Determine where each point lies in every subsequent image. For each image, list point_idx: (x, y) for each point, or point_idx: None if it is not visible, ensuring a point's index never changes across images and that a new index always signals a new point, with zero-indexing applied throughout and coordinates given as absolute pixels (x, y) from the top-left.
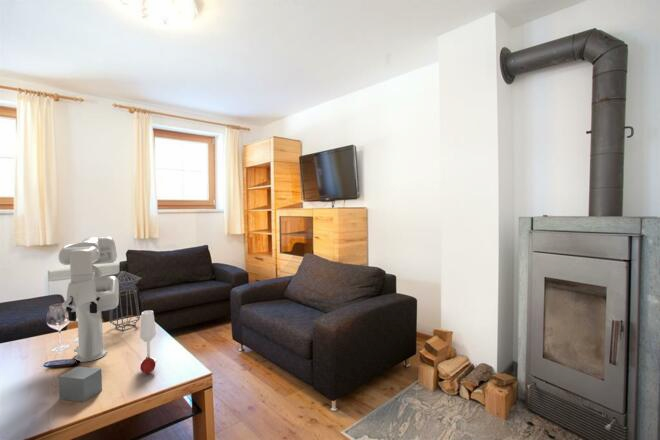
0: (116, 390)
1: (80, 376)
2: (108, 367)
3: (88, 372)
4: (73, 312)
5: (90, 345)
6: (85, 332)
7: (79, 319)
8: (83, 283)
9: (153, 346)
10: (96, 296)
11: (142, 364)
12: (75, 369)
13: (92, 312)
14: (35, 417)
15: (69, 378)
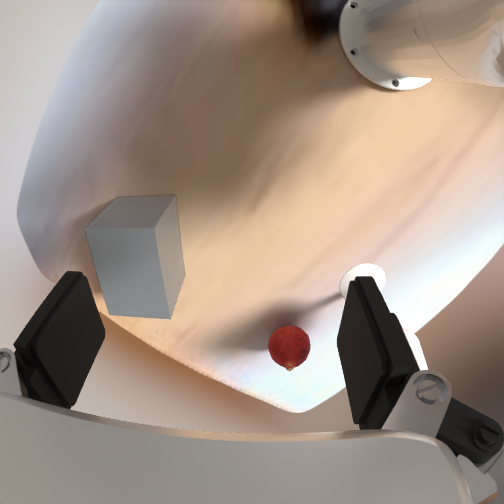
0: (195, 308)
1: (113, 296)
2: (316, 180)
3: (139, 299)
4: (52, 391)
5: (388, 56)
6: (411, 30)
7: None
8: None
9: (468, 225)
10: (478, 477)
11: (273, 351)
12: (135, 240)
13: (344, 316)
14: (56, 218)
15: (96, 268)
